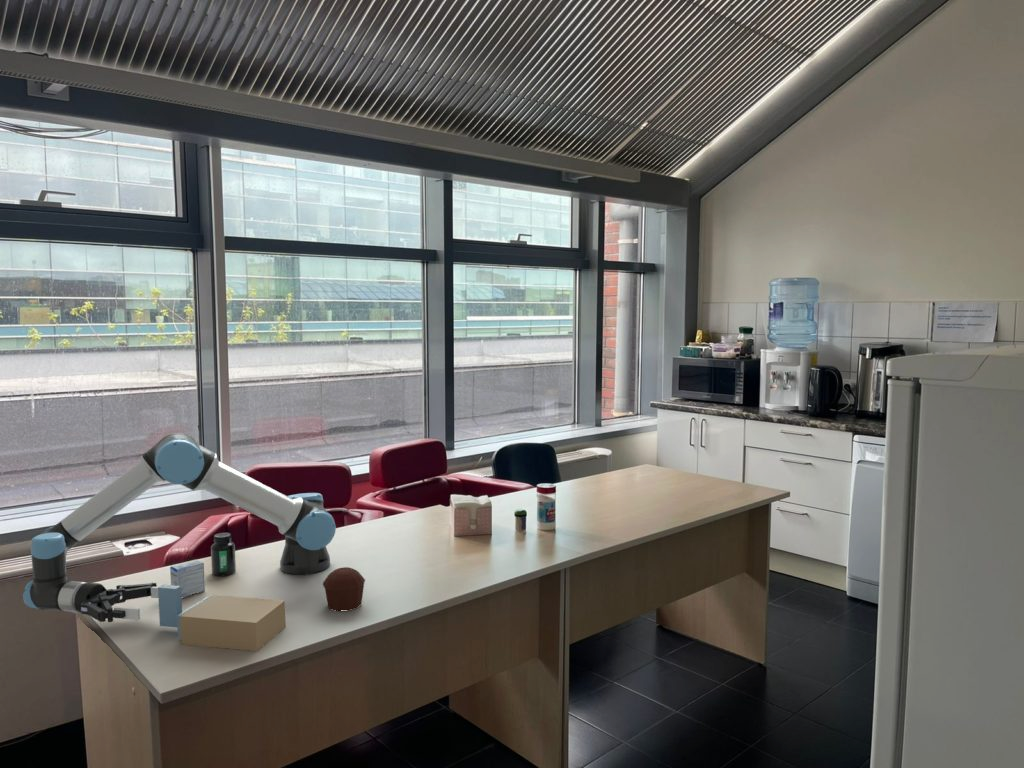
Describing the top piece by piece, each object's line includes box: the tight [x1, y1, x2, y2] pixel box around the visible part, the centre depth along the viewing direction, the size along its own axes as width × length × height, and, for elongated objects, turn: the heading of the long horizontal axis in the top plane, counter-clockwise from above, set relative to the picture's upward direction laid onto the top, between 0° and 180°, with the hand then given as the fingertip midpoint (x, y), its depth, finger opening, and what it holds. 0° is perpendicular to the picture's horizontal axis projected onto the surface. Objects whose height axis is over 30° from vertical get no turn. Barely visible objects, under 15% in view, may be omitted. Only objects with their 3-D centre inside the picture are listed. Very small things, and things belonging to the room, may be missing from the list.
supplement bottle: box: [210, 532, 237, 577], centre depth 234 cm, size 7×7×12 cm
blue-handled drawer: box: [157, 584, 212, 640], centre depth 190 cm, size 29×13×10 cm, turn 79°
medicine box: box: [169, 559, 206, 599], centre depth 217 cm, size 8×4×9 cm, turn 141°
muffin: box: [322, 566, 366, 612], centre depth 209 cm, size 12×11×10 cm
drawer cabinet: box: [180, 594, 287, 652], centre depth 189 cm, size 20×14×7 cm
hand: (157, 603), depth 193 cm, fingers open, 13 cm apart
